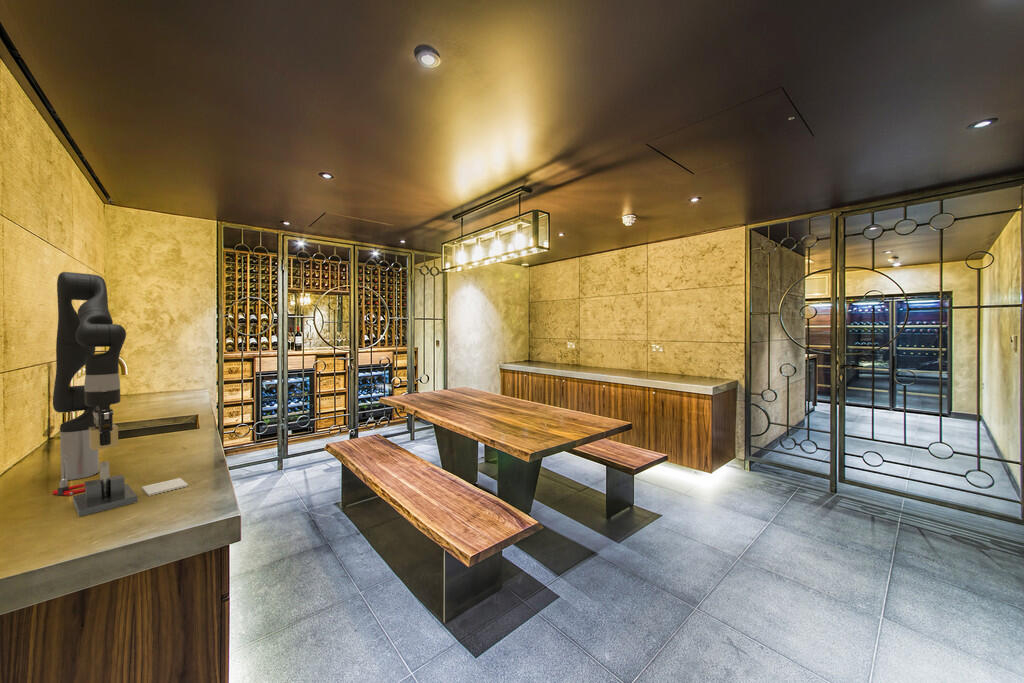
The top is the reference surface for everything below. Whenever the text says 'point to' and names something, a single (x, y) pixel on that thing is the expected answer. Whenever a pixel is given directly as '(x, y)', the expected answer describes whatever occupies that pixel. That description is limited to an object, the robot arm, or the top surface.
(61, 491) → the tow hook
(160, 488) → the pad
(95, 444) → the collar
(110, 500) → the gray base plate
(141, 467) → the top surface
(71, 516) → the top surface
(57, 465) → the top surface
